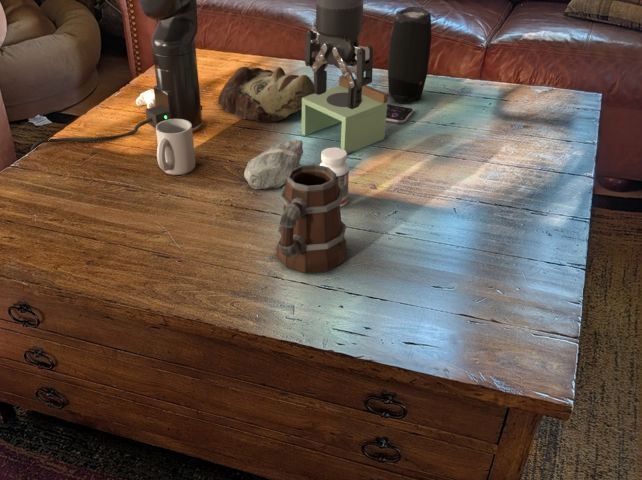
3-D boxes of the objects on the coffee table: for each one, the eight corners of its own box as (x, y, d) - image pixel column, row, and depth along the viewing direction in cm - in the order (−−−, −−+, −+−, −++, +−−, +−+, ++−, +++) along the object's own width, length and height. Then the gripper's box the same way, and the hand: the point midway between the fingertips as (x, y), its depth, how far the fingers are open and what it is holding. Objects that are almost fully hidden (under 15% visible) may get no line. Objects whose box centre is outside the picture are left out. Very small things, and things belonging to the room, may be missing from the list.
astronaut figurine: (128, 103, 177) (127, 90, 175) (165, 88, 184) (163, 76, 182) (152, 112, 173) (151, 99, 171) (189, 96, 180) (188, 84, 177)
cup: (202, 163, 153) (198, 122, 147) (177, 184, 146) (171, 142, 140) (173, 156, 155) (168, 116, 149) (147, 177, 148) (140, 135, 142)
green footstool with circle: (344, 155, 154) (346, 109, 147) (301, 133, 162) (301, 89, 156) (384, 138, 159) (388, 93, 153) (341, 119, 168) (343, 75, 161)
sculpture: (281, 88, 157) (198, 64, 169) (282, 131, 163) (202, 105, 175) (338, 61, 169) (256, 41, 181) (336, 102, 175) (258, 80, 187)
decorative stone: (290, 194, 142) (290, 166, 138) (240, 190, 144) (238, 162, 140) (303, 164, 151) (303, 137, 147) (256, 160, 153) (254, 133, 149)
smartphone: (354, 98, 174) (414, 108, 169) (354, 100, 175) (414, 111, 170) (342, 110, 170) (403, 121, 164) (342, 112, 170) (403, 123, 165)
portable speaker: (430, 101, 174) (441, 15, 161) (393, 106, 172) (401, 19, 159) (415, 88, 180) (424, 4, 167) (380, 93, 178) (386, 8, 165)
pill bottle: (350, 196, 141) (353, 148, 134) (343, 210, 137) (345, 162, 130) (322, 192, 142) (323, 144, 135) (314, 206, 138) (314, 157, 131)
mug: (296, 230, 132) (296, 152, 122) (357, 247, 127) (362, 168, 117) (252, 274, 122) (248, 193, 112) (316, 294, 117) (318, 212, 107)
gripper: (388, 4, 113) (381, 106, 124) (327, -14, 121) (325, 83, 132) (353, 15, 110) (348, 119, 120) (293, -5, 118) (293, 94, 129)
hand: (336, 100), depth 126 cm, fingers open, 8 cm apart
